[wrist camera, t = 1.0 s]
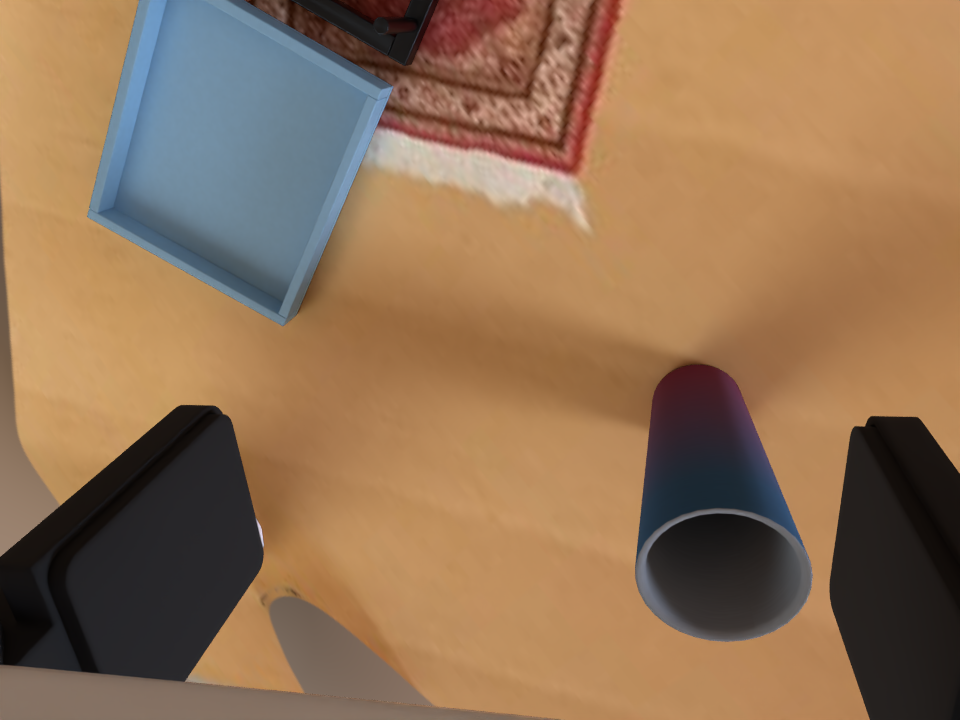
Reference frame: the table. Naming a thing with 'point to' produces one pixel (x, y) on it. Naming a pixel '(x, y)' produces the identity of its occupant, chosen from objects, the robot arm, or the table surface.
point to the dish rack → (379, 26)
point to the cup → (715, 516)
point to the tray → (233, 147)
